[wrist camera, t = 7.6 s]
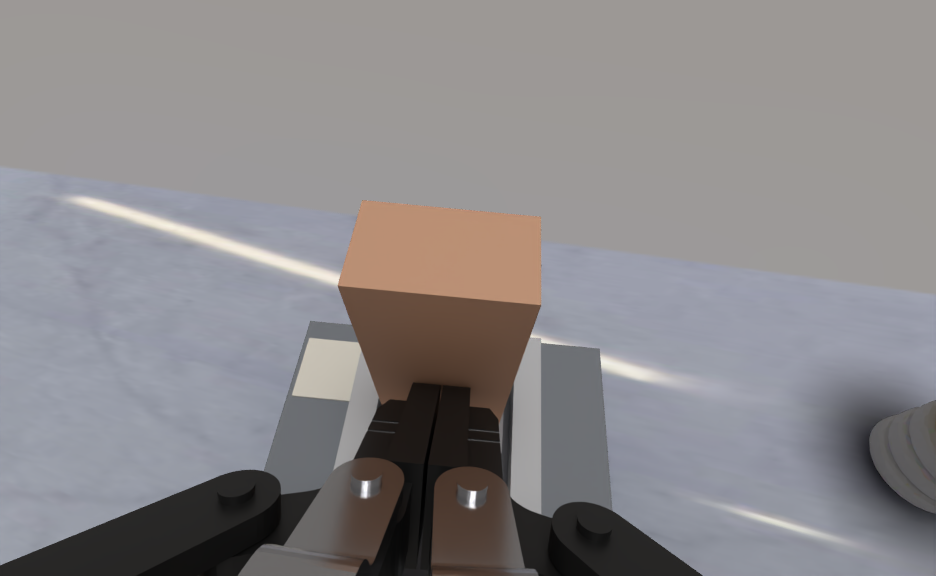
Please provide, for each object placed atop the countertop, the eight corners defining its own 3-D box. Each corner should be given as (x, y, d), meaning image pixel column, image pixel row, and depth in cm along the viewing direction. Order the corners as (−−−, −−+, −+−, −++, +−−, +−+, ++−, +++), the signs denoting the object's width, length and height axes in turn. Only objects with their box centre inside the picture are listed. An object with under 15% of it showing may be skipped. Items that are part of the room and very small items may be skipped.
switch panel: (586, 367, 20) (606, 337, 18) (606, 690, 14) (640, 714, 12) (321, 342, 20) (303, 308, 18) (232, 651, 15) (187, 667, 12)
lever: (501, 381, 18) (553, 199, 9) (497, 462, 16) (556, 332, 7) (398, 371, 18) (354, 180, 9) (384, 451, 16) (315, 309, 8)
